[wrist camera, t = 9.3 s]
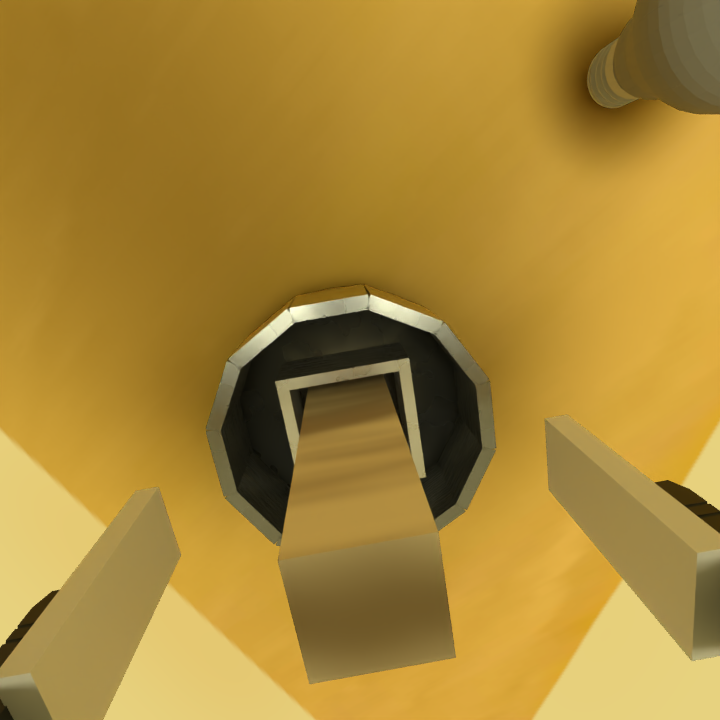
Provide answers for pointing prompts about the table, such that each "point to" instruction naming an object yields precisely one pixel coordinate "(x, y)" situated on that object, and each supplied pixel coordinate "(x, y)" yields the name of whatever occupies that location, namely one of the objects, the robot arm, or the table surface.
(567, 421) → the robot arm
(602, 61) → the light bulb
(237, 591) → the table surface
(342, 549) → the tan square post
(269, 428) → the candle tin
